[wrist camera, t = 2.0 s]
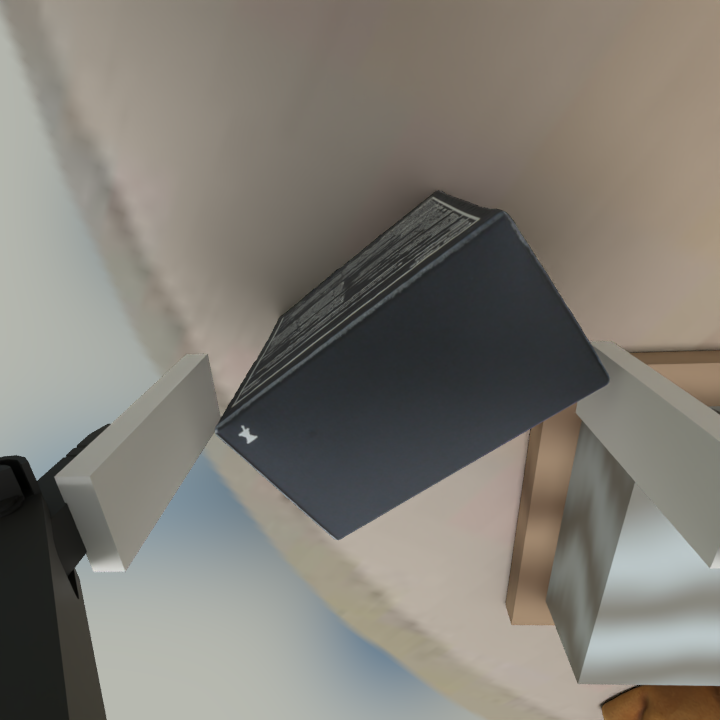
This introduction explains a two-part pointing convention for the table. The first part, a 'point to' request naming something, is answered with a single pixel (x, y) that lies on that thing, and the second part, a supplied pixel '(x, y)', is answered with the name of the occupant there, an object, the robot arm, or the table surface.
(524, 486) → the building base
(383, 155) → the table surface
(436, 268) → the small box
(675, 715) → the stuffed squirrel
